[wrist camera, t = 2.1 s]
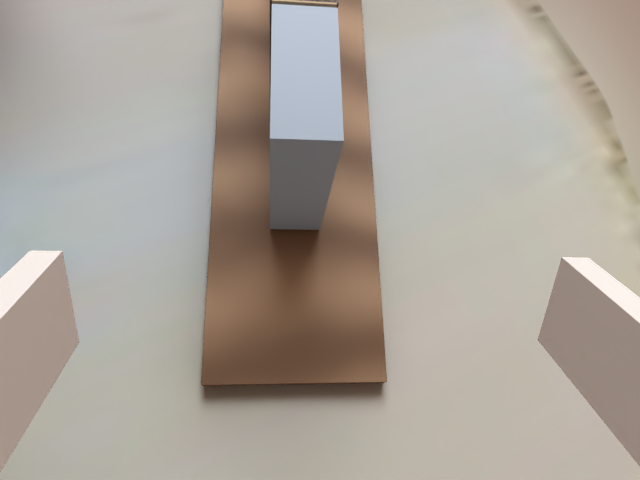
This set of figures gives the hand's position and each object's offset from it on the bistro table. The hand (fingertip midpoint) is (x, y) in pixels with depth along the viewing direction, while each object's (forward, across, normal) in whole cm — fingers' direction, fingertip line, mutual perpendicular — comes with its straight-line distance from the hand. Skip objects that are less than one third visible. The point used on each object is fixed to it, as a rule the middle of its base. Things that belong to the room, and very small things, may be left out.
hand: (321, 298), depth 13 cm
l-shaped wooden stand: (+20, 0, -1) cm, 20 cm away
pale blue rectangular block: (+18, 0, -2) cm, 18 cm away
